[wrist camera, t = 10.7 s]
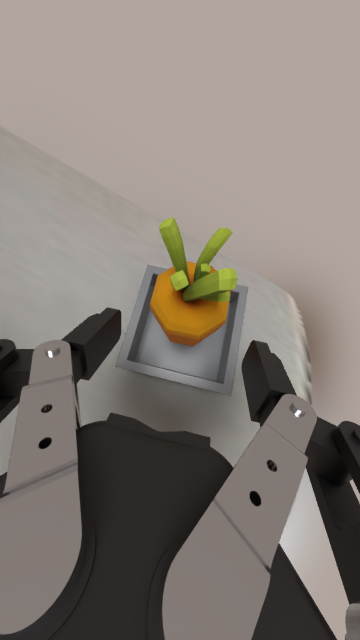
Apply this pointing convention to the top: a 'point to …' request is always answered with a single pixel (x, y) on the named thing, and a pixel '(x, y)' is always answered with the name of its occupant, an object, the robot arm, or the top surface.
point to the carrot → (191, 289)
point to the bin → (178, 359)
